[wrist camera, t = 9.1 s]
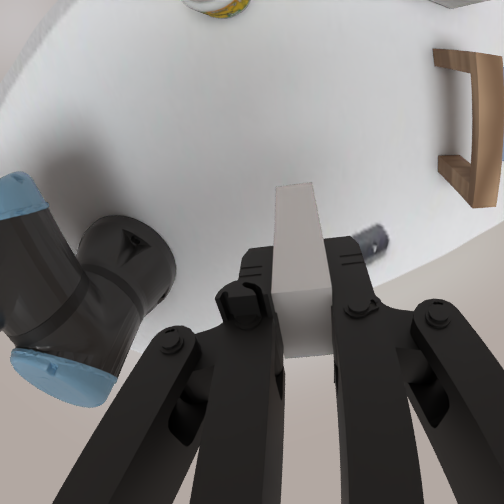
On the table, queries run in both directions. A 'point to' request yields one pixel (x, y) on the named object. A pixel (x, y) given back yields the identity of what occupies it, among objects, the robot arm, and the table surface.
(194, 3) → the supplement bottle
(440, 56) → the bridge
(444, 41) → the table surface
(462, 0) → the skincare box
